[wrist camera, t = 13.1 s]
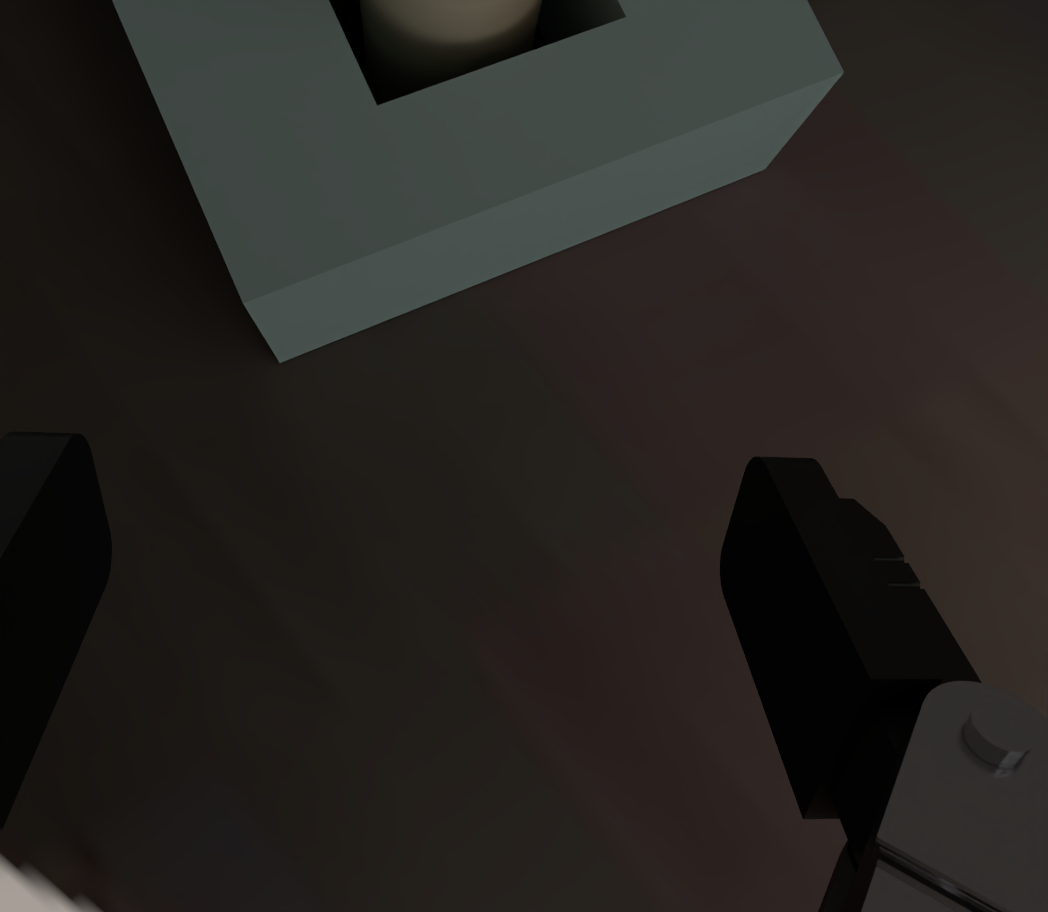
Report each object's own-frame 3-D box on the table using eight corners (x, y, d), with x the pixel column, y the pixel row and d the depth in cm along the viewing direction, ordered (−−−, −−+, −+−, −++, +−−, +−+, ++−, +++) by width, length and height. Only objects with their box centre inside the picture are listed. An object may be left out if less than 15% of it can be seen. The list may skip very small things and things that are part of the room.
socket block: (586, -190, 22) (622, -361, 18) (764, 169, 21) (843, 72, 17) (104, -40, 20) (27, -196, 16) (279, 362, 19) (243, 303, 15)
